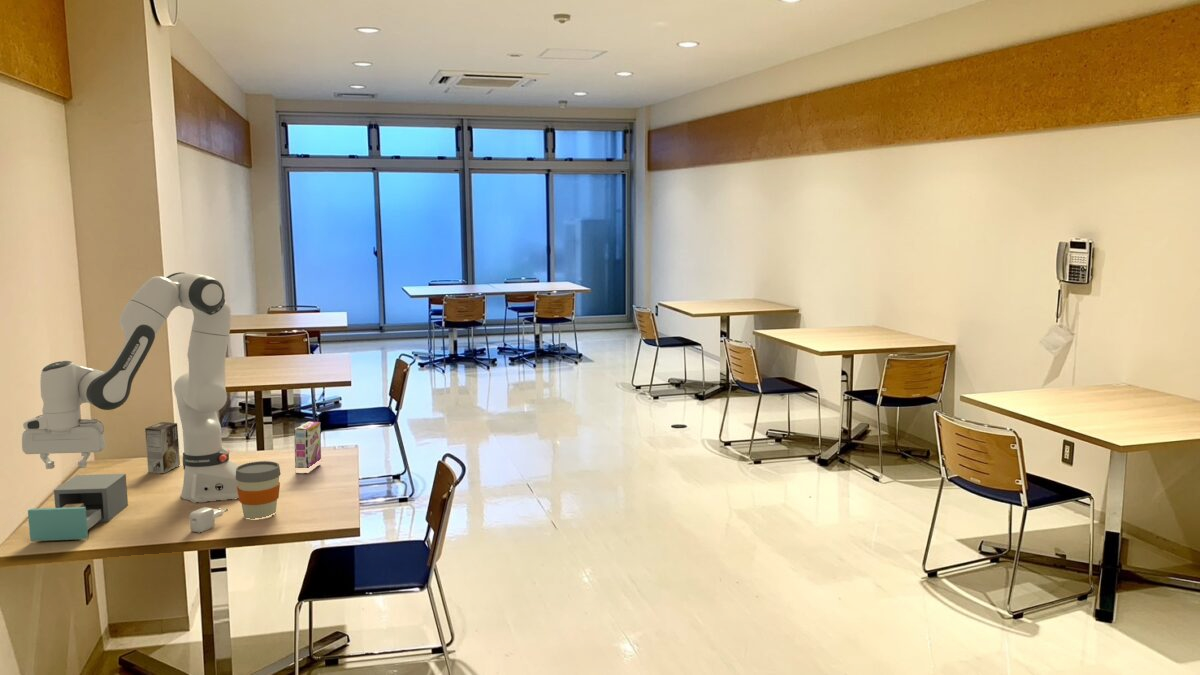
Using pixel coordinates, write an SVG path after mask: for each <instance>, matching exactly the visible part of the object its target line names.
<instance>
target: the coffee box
mask: <svg viewBox="0 0 1200 675" xmlns="http://www.w3.org/2000/svg"><path fill="white" fill-rule="evenodd" d="M144 430H145V431H144V432H145V444H146V461H147V472H153V473H152V474H160V473H164V474H166V473H165V472H167V473H168V471H169V470H171V469H173V468H175V467H177V466H179V465H180V466H181V460H180V458H181V457H180V444H179V443H180V442H179V429H178V423H177V422H167V421H165V422H164V421H161V422H158V423H156V424H153V425H151V426H147V427H146V428H144ZM180 466H179V467H180ZM177 468H178V467H177ZM175 469H176V468H175ZM173 470H174V469H173ZM171 471H172V470H171ZM155 472H156V473H155ZM169 472H170V471H169Z"/></svg>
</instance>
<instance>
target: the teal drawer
mask: <svg viewBox="0 0 1200 675" xmlns="http://www.w3.org/2000/svg"><path fill="white" fill-rule="evenodd" d="M27 516H28V517H27V518H28V528H29V540H30V542H42V541H64V540H65V541H69V540H86V539H88V538H89V534H88V531H89V529H91V528H92V527H94V526H95V525H96V524H97V523H99V522H98V521H99V520H100V519H102V517H101V509H98V510H86V507H68V508H55V507H47V508H46V507H45V508H43V507H42V508H29V509H27Z"/></svg>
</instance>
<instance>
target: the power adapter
mask: <svg viewBox="0 0 1200 675" xmlns="http://www.w3.org/2000/svg"><path fill="white" fill-rule="evenodd" d="M228 510H229V509H228V508H225V509H223V510H222V508H221V507H217V508H212V507H205V506H204V507H200V508H198V509H195V510H193V511H191V512H190V513H189V527H190V528H189V529H190V531H191V532H194V533H200V532H201V533H203V532H206V531H208V530H210V529H212V528H214V527H215V525H216V524H215V519H217V518H219V517H222V515H223V514H224V513H226V512H228Z"/></svg>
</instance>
